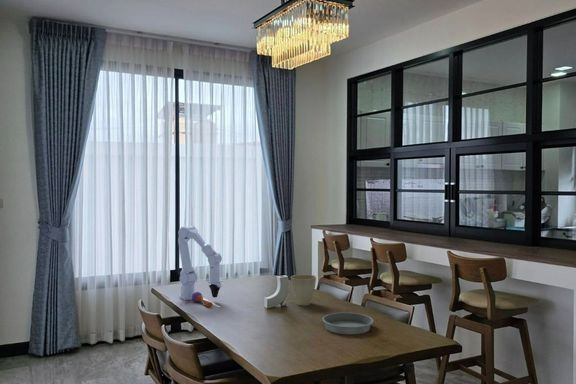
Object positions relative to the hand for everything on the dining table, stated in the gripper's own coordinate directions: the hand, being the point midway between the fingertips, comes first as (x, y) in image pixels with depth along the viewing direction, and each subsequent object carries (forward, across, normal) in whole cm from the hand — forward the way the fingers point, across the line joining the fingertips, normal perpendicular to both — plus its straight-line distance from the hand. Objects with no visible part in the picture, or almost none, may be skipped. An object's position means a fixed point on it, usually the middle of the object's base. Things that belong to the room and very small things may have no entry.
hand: (214, 297), depth 287 cm
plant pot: (+3, -33, -41) cm, 53 cm away
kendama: (+3, -1, +8) cm, 9 cm away
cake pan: (+3, -83, -33) cm, 89 cm away
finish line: (+3, 0, +3) cm, 4 cm away
